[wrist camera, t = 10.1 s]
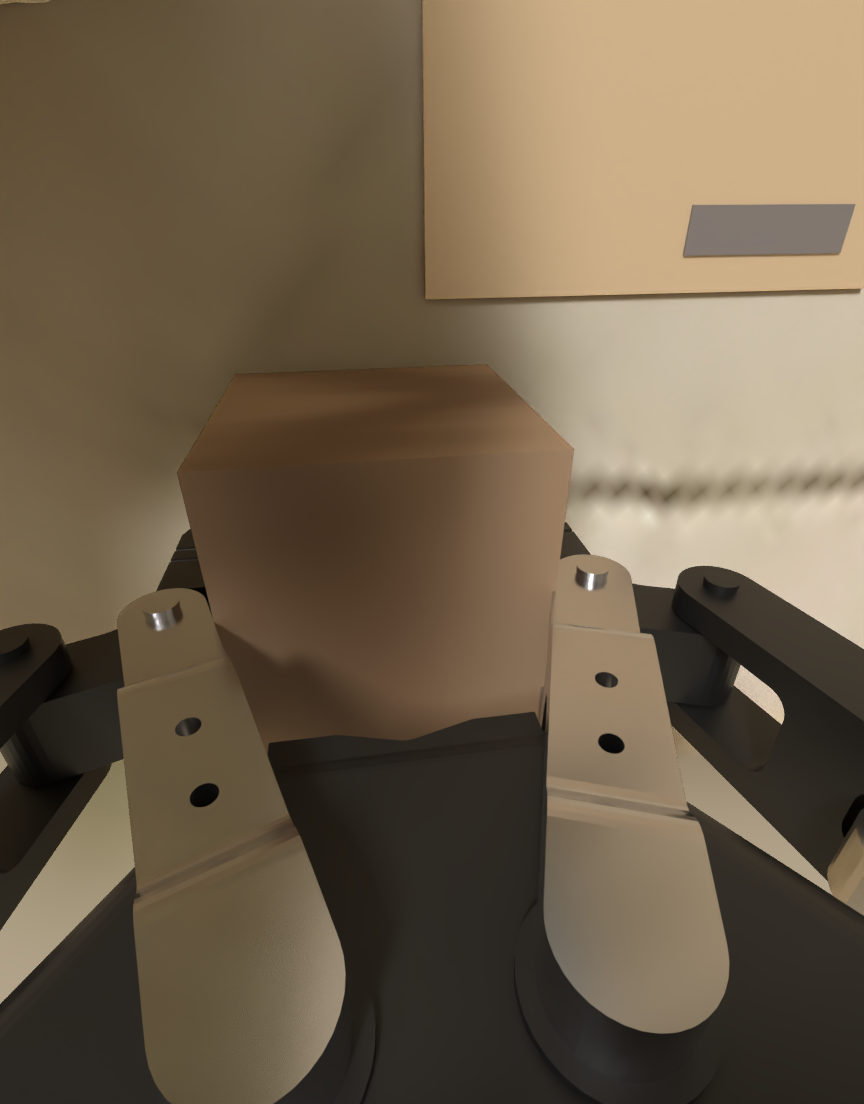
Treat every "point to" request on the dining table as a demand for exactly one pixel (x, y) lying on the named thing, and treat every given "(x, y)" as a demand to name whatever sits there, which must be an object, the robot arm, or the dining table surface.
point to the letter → (642, 146)
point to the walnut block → (379, 546)
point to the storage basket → (23, 1)
